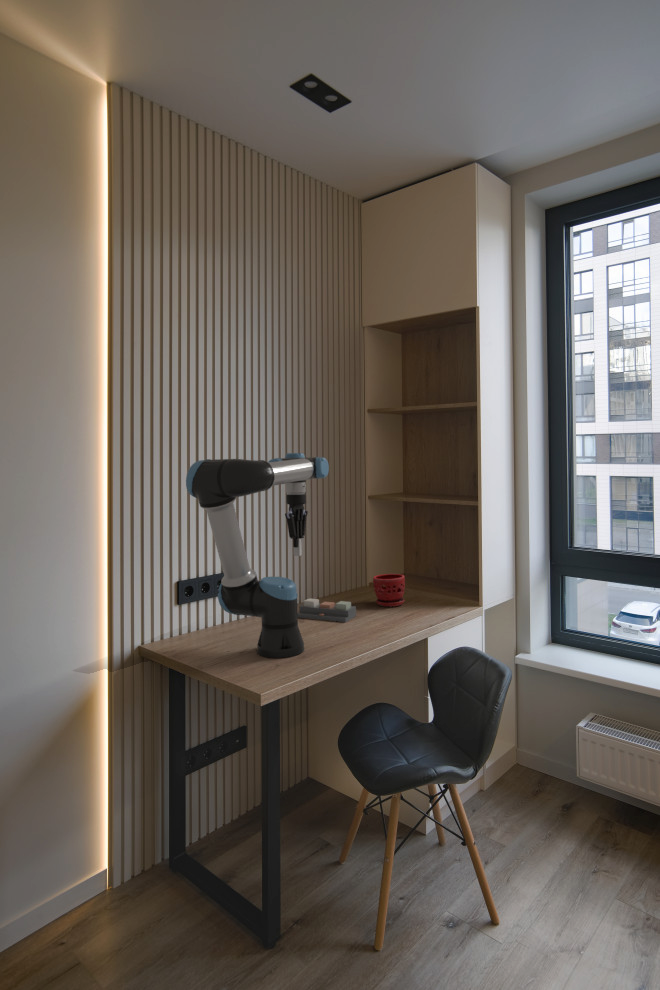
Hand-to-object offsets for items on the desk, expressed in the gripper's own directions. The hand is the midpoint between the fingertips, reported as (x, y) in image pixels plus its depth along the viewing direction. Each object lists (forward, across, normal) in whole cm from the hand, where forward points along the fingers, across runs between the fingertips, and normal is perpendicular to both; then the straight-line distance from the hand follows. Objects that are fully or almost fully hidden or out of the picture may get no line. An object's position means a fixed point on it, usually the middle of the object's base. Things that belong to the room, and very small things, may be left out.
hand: (297, 555), depth 233 cm
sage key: (+22, +9, -14) cm, 28 cm away
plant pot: (+25, +35, -22) cm, 48 cm away
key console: (+25, +8, -7) cm, 27 cm away
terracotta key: (+23, +9, -7) cm, 26 cm away
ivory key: (+22, +9, 0) cm, 24 cm away
